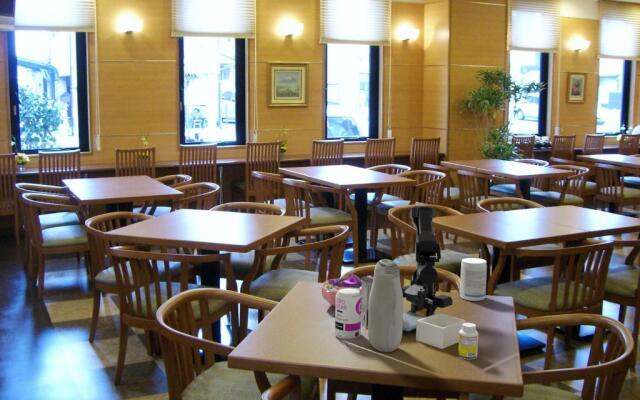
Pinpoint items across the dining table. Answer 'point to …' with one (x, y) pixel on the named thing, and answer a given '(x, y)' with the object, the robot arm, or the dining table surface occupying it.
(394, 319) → the grey tall bottle
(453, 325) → the tub
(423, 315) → the lid
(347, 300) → the supplement can
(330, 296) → the cell model
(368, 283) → the coffee box
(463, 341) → the supplement bottle
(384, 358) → the dining table surface
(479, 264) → the supplement tub
